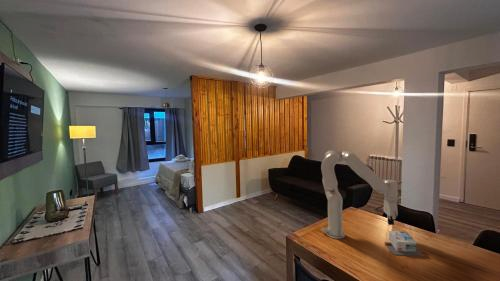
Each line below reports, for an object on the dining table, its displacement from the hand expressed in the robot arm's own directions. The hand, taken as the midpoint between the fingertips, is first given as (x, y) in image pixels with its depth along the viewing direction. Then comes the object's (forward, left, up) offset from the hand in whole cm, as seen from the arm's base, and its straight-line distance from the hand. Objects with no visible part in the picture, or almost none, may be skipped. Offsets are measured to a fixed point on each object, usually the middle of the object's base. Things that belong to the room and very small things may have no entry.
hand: (390, 224), depth 146 cm
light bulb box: (0, -7, -4) cm, 8 cm away
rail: (0, -10, -9) cm, 14 cm away
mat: (0, -16, -9) cm, 19 cm away
